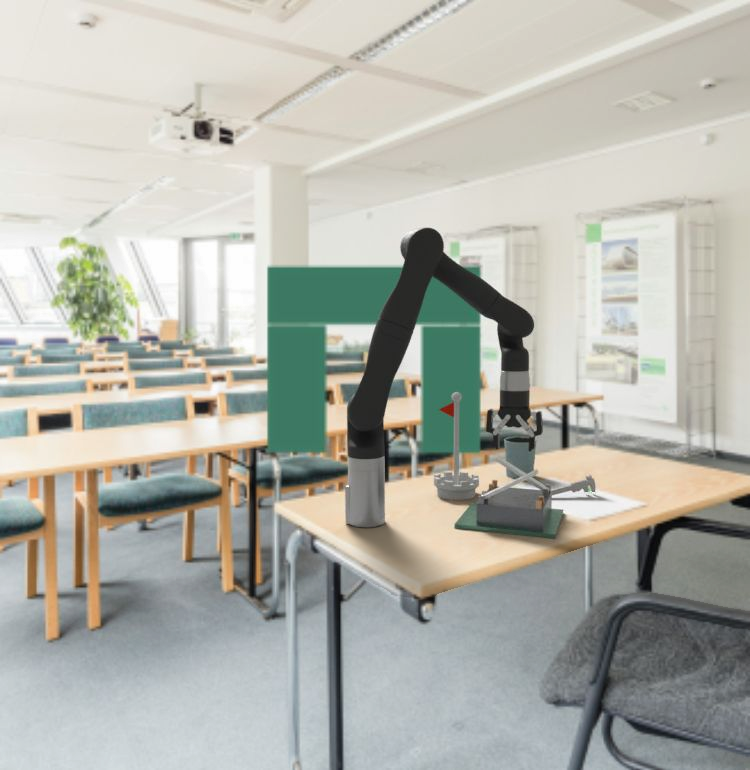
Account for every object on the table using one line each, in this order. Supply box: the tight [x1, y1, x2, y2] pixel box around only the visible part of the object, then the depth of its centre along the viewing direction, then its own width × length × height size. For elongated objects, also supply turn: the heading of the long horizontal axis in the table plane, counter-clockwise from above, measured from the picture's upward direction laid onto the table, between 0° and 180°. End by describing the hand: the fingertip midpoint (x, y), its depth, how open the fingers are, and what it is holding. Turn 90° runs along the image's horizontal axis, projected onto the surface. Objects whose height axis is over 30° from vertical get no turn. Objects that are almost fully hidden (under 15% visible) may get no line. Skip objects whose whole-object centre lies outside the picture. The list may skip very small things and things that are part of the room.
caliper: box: [551, 474, 596, 496], centre depth 193 cm, size 20×1×6 cm, turn 101°
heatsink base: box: [454, 479, 565, 540], centre depth 171 cm, size 24×21×8 cm
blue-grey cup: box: [503, 435, 538, 479], centre depth 217 cm, size 10×10×12 cm
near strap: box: [481, 468, 539, 499], centre depth 166 cm, size 16×3×1 cm, turn 69°
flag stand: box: [433, 391, 480, 501], centre depth 195 cm, size 13×13×30 cm
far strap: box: [494, 455, 550, 491], centre depth 176 cm, size 16×3×1 cm
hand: (513, 449), depth 176 cm, fingers open, 8 cm apart
